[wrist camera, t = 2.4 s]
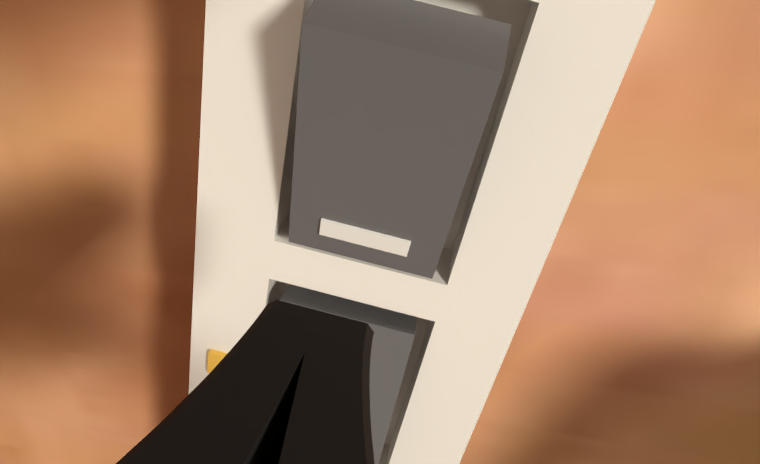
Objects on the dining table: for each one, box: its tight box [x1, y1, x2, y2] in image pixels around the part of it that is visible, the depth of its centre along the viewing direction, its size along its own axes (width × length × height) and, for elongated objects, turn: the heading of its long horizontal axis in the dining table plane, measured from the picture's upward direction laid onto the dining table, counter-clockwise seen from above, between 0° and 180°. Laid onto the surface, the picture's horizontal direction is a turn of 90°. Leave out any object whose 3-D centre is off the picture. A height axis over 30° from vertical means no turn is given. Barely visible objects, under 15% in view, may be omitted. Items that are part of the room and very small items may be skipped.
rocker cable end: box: [288, 0, 512, 279], centre depth 15 cm, size 3×6×2 cm, turn 169°
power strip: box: [189, 0, 656, 464], centre depth 19 cm, size 8×30×4 cm, turn 169°
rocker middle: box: [280, 284, 417, 464], centre depth 19 cm, size 3×6×2 cm, turn 169°
